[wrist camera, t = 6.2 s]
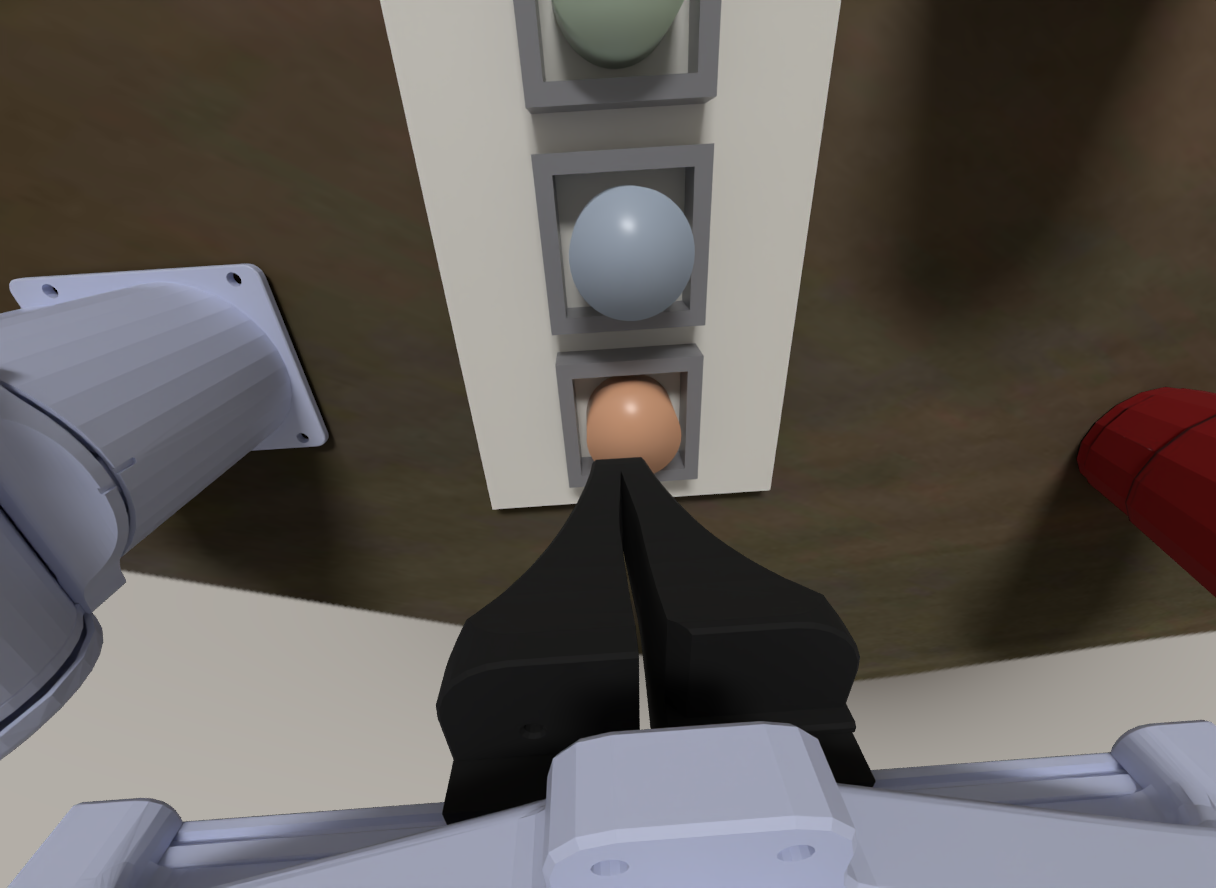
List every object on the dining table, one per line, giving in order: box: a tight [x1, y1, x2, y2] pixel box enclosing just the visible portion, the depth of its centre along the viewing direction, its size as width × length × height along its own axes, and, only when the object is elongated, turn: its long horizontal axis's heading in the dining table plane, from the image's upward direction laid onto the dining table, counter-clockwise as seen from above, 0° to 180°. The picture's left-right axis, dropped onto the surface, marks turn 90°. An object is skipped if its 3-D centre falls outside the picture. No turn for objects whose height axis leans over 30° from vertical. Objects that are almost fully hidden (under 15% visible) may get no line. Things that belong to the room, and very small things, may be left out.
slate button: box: [569, 185, 695, 321], centre depth 15 cm, size 4×4×2 cm
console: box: [380, 0, 841, 509], centre depth 17 cm, size 14×24×3 cm, turn 3°
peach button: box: [586, 374, 681, 473], centre depth 20 cm, size 4×4×2 cm
